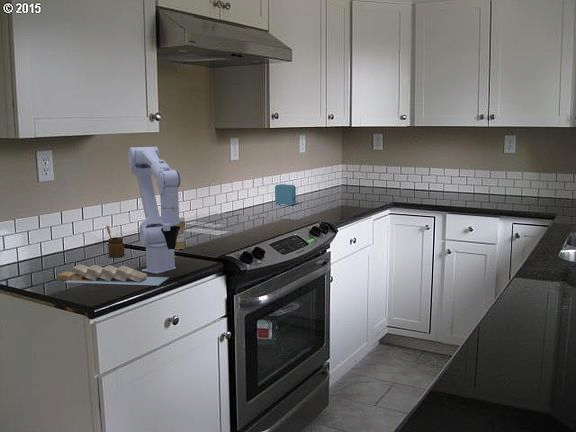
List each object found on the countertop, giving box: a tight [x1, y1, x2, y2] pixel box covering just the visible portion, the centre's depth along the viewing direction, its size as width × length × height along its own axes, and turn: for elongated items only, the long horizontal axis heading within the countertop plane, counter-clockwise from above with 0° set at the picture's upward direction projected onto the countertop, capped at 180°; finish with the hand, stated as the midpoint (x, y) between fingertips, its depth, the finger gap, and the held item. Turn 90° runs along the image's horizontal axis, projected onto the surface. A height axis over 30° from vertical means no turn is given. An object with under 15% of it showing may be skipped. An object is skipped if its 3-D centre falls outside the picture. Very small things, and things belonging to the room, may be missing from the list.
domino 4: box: [101, 264, 129, 282], centre depth 208 cm, size 2×5×9 cm
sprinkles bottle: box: [174, 215, 186, 251], centre depth 256 cm, size 5×5×14 cm
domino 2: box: [71, 263, 100, 281], centre depth 210 cm, size 2×5×9 cm
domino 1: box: [56, 271, 86, 281], centre depth 211 cm, size 2×5×9 cm
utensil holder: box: [106, 225, 125, 259], centre depth 245 cm, size 6×6×12 cm
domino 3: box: [86, 264, 115, 282], centre depth 209 cm, size 2×5×9 cm
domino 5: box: [115, 265, 148, 282], centre depth 207 cm, size 2×5×9 cm
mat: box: [64, 276, 170, 286], centre depth 209 cm, size 32×10×1 cm, turn 80°
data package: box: [274, 183, 297, 206], centre depth 379 cm, size 12×4×12 cm, turn 58°
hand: (171, 249), depth 207 cm, fingers closed
